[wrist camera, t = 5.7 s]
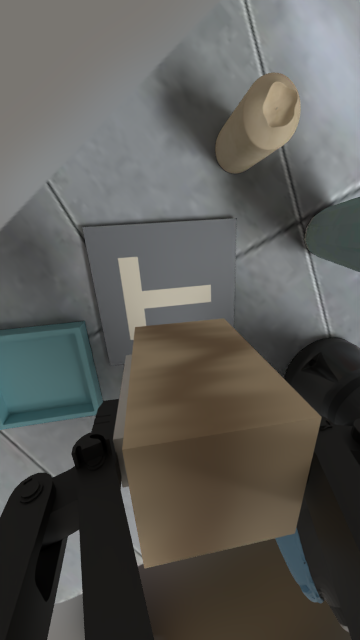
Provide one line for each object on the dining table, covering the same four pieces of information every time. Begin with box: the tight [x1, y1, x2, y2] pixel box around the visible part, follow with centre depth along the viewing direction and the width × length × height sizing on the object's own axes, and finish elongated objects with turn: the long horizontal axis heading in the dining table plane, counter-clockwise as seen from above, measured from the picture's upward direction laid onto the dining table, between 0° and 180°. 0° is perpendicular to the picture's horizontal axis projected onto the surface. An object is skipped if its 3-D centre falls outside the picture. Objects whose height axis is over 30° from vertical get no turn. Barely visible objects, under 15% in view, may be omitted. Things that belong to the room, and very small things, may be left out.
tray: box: [0, 321, 103, 430], centre depth 33 cm, size 15×15×2 cm
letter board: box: [82, 218, 237, 366], centre depth 33 cm, size 20×20×1 cm
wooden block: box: [122, 318, 322, 568], centre depth 12 cm, size 6×6×9 cm
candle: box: [215, 73, 300, 174], centre depth 23 cm, size 6×6×10 cm
